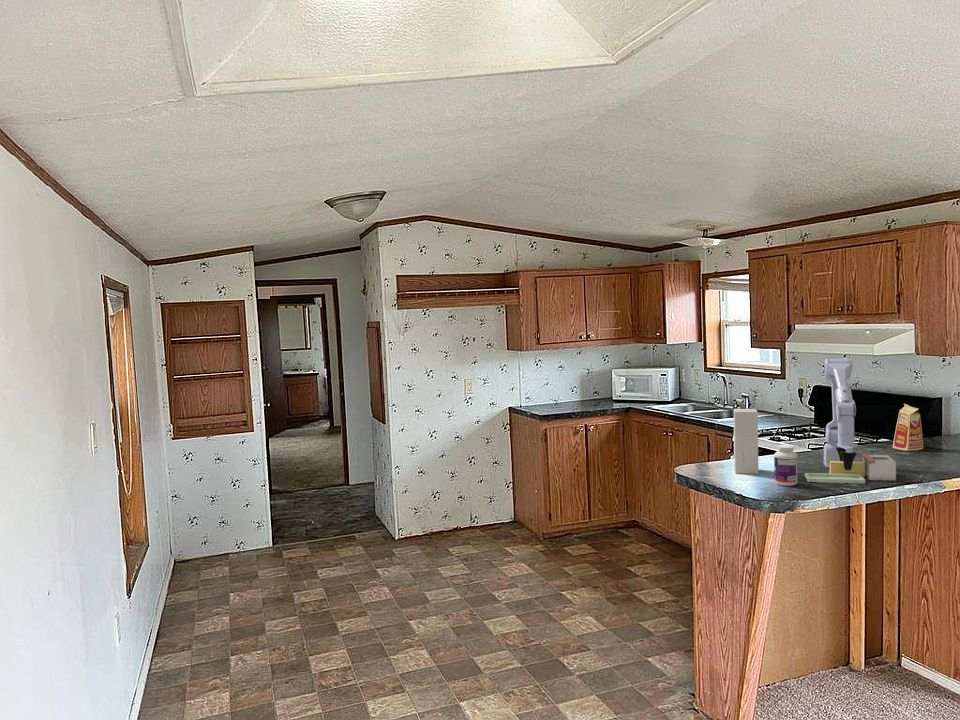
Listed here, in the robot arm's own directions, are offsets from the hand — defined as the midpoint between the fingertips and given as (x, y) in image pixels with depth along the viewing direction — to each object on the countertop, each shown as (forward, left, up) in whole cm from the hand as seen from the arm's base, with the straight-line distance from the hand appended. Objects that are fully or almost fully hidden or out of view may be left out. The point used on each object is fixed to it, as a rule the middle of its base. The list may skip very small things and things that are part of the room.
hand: (846, 467), depth 300 cm
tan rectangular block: (0, 0, -3) cm, 3 cm away
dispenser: (+12, 0, -3) cm, 12 cm away
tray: (-5, -8, -3) cm, 11 cm away
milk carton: (+36, +58, -3) cm, 68 cm away
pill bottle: (-23, -16, -3) cm, 29 cm away
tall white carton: (-36, +4, -3) cm, 37 cm away
